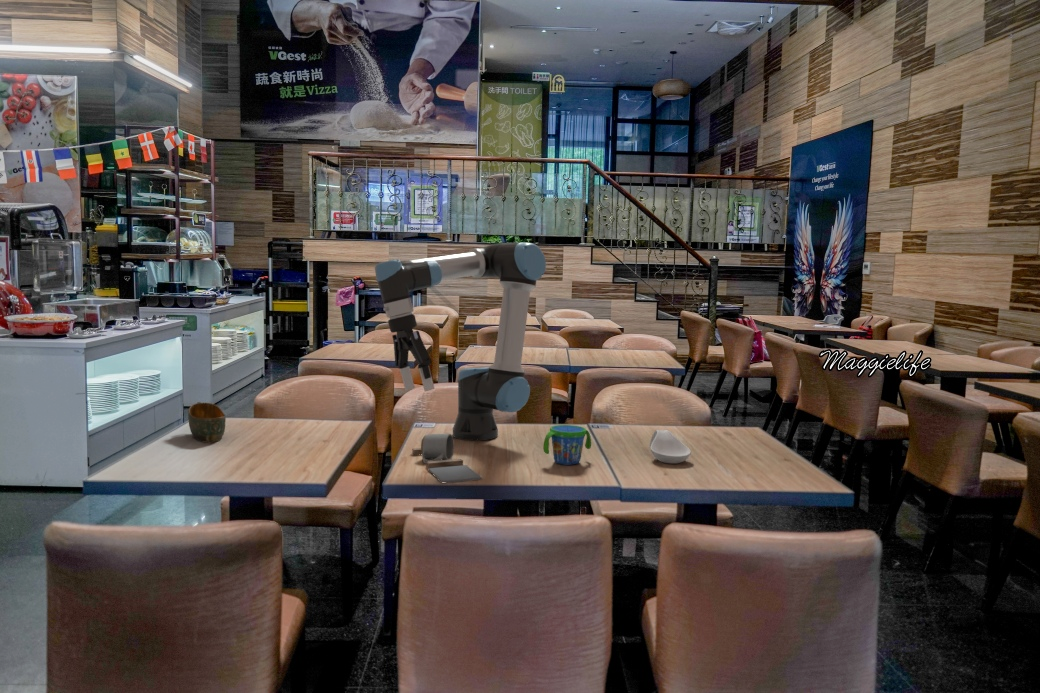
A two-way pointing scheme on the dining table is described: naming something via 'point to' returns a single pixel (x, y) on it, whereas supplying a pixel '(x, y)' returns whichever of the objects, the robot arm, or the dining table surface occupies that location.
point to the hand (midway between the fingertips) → (419, 390)
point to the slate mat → (455, 473)
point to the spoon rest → (668, 447)
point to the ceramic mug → (437, 447)
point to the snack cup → (567, 443)
